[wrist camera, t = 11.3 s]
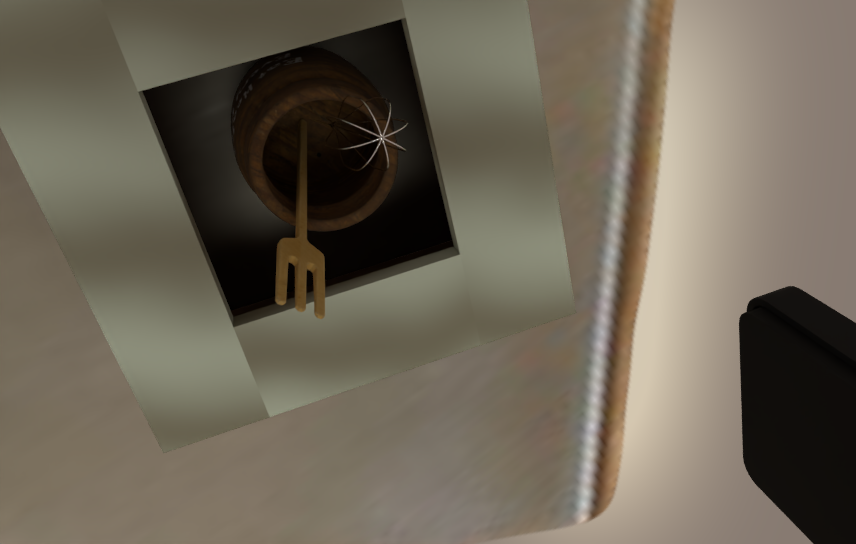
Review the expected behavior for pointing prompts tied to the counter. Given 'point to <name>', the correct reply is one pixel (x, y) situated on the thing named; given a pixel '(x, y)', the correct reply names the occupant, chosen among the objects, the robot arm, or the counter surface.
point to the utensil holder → (312, 153)
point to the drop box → (180, 239)
